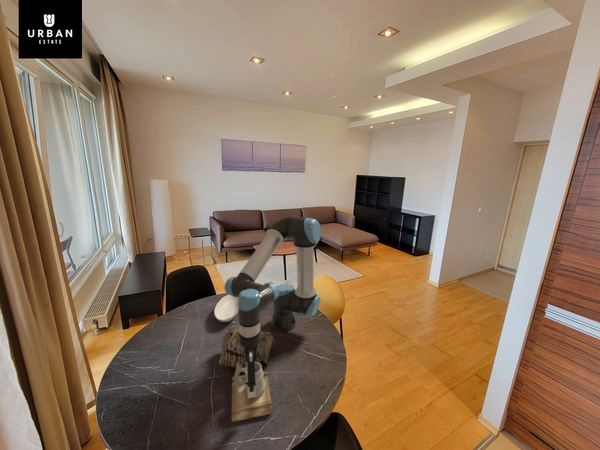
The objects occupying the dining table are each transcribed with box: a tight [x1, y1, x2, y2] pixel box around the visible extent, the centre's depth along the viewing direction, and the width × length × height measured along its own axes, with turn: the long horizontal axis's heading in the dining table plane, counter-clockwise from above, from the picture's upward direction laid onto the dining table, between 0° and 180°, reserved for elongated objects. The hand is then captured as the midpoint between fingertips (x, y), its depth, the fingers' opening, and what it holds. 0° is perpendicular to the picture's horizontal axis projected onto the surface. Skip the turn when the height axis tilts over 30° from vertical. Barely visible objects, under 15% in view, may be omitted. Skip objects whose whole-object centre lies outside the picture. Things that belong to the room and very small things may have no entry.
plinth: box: [231, 370, 273, 423], centre depth 94 cm, size 14×16×4 cm
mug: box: [233, 362, 266, 398], centre depth 94 cm, size 8×12×12 cm, turn 84°
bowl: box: [214, 294, 239, 323], centre depth 150 cm, size 30×15×6 cm, turn 3°
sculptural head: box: [218, 324, 275, 368], centre depth 113 cm, size 17×21×25 cm
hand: (250, 381), depth 93 cm, fingers open, 13 cm apart
